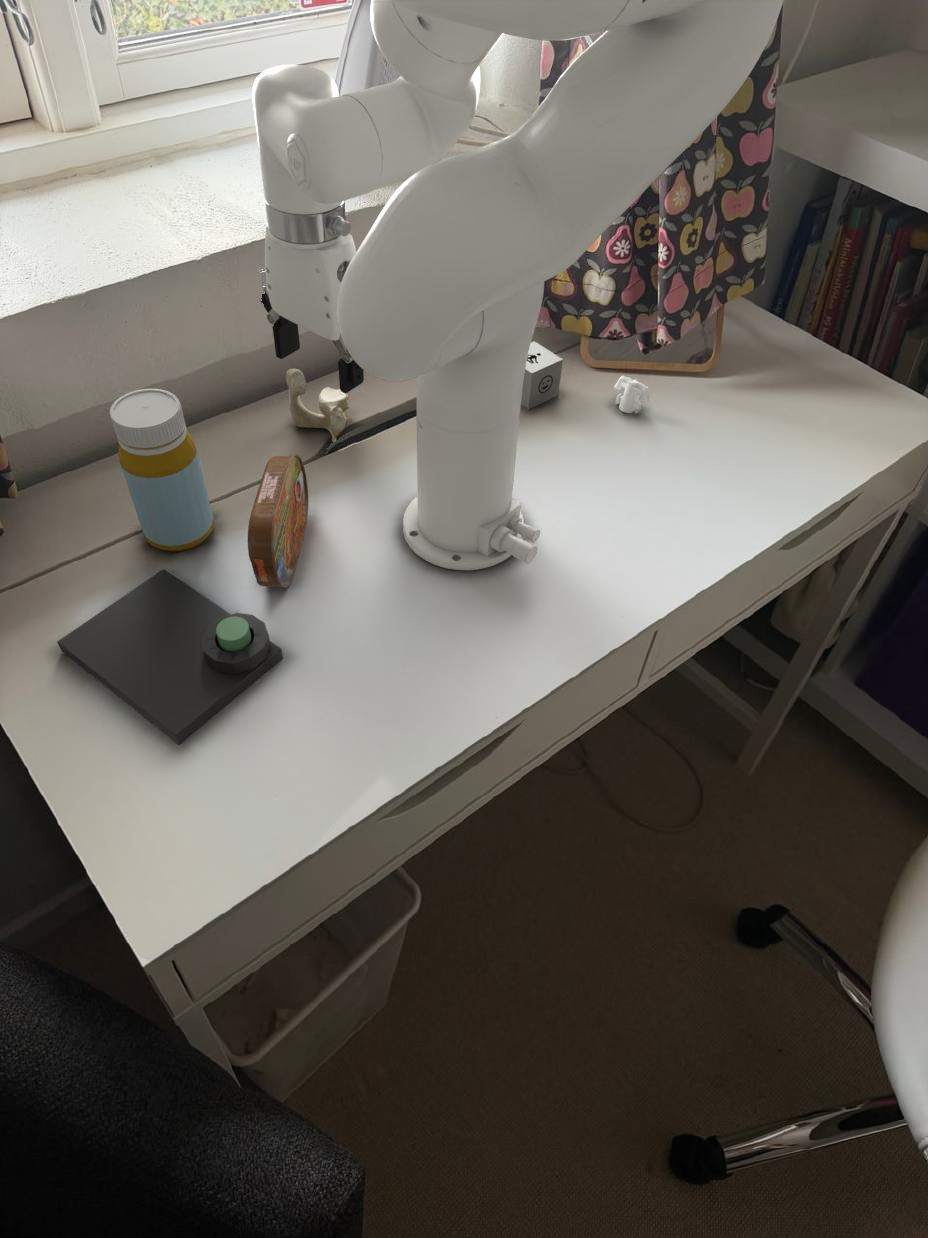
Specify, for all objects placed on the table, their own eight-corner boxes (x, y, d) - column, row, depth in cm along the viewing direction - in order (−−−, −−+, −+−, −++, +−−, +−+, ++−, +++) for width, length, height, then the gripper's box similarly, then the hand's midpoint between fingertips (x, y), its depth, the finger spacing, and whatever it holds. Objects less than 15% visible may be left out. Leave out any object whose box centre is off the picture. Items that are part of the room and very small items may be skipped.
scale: (286, 656, 80) (282, 634, 78) (179, 745, 73) (171, 724, 71) (169, 576, 86) (163, 554, 84) (61, 651, 79) (50, 629, 77)
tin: (286, 606, 84) (274, 541, 78) (253, 604, 84) (239, 539, 78) (312, 502, 94) (304, 437, 88) (283, 501, 94) (272, 436, 88)
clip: (648, 413, 107) (654, 386, 104) (640, 419, 106) (646, 392, 103) (614, 397, 109) (619, 370, 106) (605, 403, 108) (610, 376, 105)
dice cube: (501, 390, 109) (503, 354, 105) (530, 376, 111) (534, 341, 108) (528, 409, 107) (531, 373, 103) (558, 395, 109) (562, 359, 105)
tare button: (258, 638, 78) (255, 626, 77) (234, 657, 76) (231, 645, 75) (236, 623, 79) (233, 611, 78) (212, 641, 77) (209, 630, 76)
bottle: (198, 559, 88) (165, 435, 77) (133, 548, 88) (90, 424, 77) (225, 514, 92) (197, 391, 81) (162, 504, 93) (126, 380, 82)
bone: (382, 414, 102) (341, 365, 93) (352, 459, 102) (308, 415, 93) (331, 390, 106) (287, 341, 97) (302, 433, 106) (255, 388, 97)
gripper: (400, 232, 84) (400, 385, 97) (271, 177, 90) (288, 327, 103) (346, 261, 80) (354, 416, 93) (215, 200, 86) (240, 354, 99)
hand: (319, 369), depth 98 cm, fingers open, 9 cm apart
